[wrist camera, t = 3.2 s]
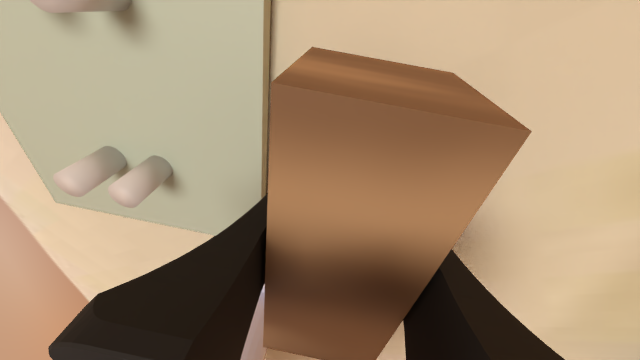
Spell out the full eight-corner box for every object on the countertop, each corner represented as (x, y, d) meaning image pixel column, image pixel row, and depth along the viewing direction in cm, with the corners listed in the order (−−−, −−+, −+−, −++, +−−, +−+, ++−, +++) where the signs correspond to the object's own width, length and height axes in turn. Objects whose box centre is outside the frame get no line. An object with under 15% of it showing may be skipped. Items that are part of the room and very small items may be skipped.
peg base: (264, 235, 20) (245, 281, 16) (68, 194, 20) (11, 231, 17) (275, -190, 8) (218, -319, 5) (-189, -264, 9) (-529, -427, 5)
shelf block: (367, 275, 16) (368, 369, 12) (288, 259, 16) (262, 346, 12) (453, 72, 9) (531, 131, 5) (312, 47, 9) (271, 82, 5)
